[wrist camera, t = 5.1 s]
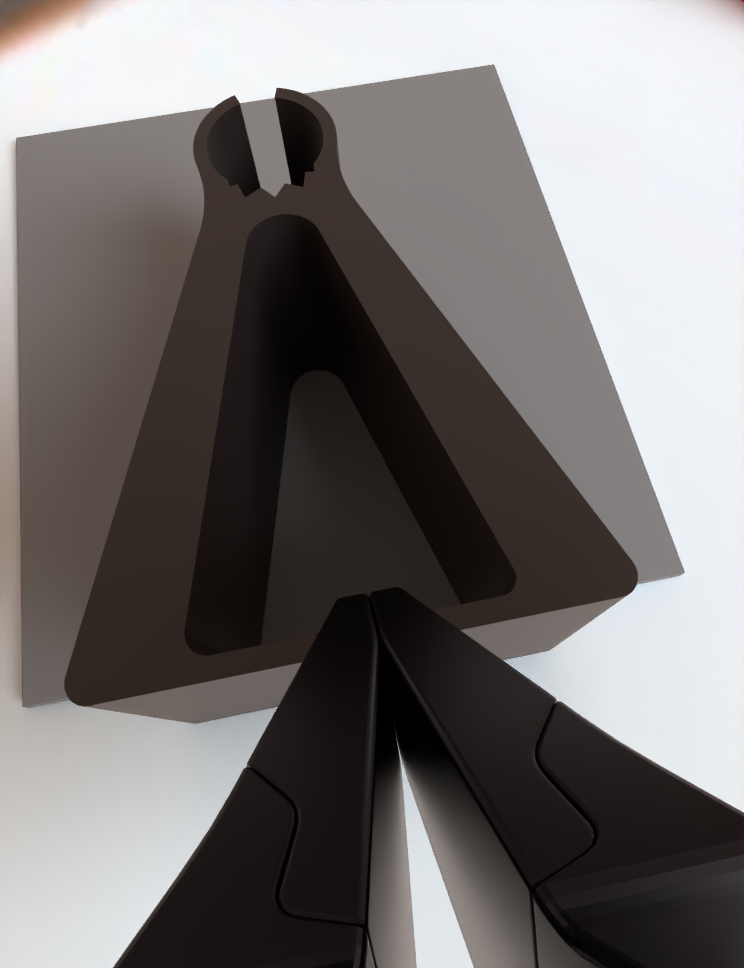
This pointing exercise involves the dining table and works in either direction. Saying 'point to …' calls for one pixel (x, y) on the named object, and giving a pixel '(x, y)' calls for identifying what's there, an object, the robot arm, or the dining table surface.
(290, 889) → the robot arm
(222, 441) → the phone stand
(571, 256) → the dining table surface
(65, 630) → the mat
